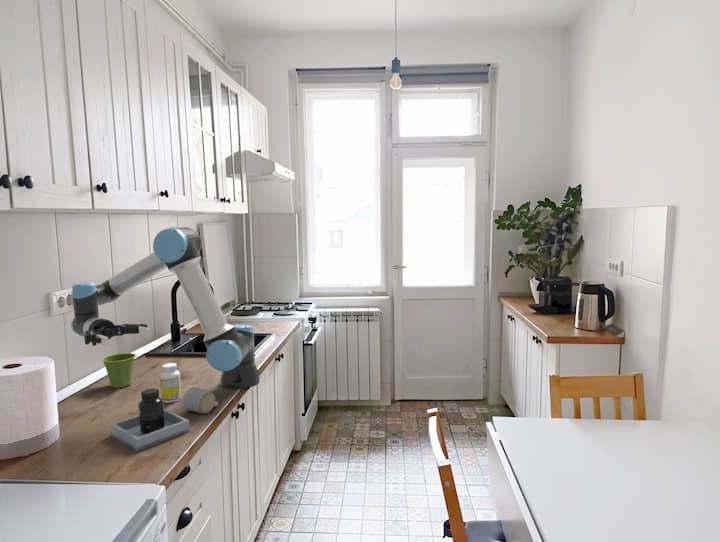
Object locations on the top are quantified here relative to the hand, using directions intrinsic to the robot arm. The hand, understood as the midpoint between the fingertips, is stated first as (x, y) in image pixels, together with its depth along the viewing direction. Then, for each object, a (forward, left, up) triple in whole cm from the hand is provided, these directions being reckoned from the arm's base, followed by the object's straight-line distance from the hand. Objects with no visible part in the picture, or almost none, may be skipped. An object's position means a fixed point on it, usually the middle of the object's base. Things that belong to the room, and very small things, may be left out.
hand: (129, 336), depth 150 cm
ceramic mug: (-17, +13, -27) cm, 34 cm away
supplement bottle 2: (-15, -3, -27) cm, 31 cm away
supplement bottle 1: (+2, +17, -26) cm, 31 cm away
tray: (+3, +17, -26) cm, 31 cm away
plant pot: (-11, -33, -27) cm, 44 cm away
